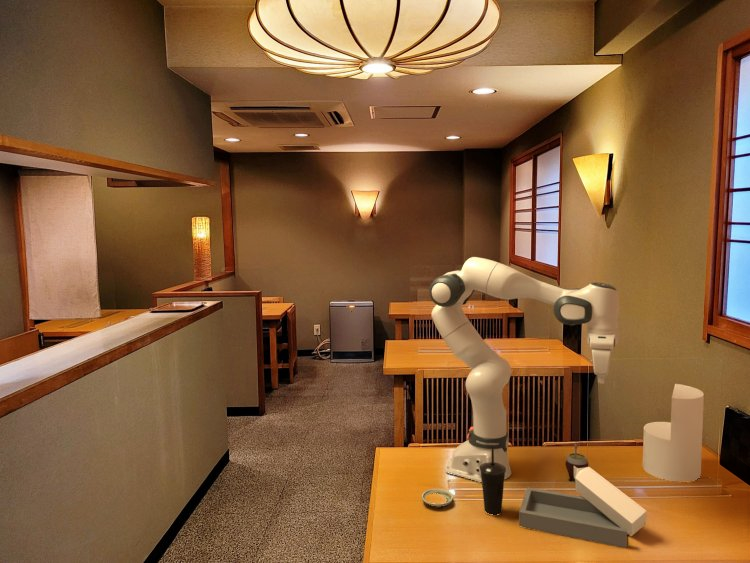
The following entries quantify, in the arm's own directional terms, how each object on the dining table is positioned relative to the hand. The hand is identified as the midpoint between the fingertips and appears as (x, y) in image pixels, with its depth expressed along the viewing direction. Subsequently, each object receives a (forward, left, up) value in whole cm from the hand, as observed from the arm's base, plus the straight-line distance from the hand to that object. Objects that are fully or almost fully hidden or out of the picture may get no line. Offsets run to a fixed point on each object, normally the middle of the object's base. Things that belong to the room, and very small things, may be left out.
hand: (601, 382), depth 161 cm
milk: (+10, -18, -33) cm, 39 cm away
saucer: (-46, -20, -37) cm, 63 cm away
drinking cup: (-29, -19, -37) cm, 51 cm away
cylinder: (+22, +28, -37) cm, 52 cm away
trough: (-6, -17, -37) cm, 41 cm away
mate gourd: (-7, +10, -37) cm, 39 cm away
